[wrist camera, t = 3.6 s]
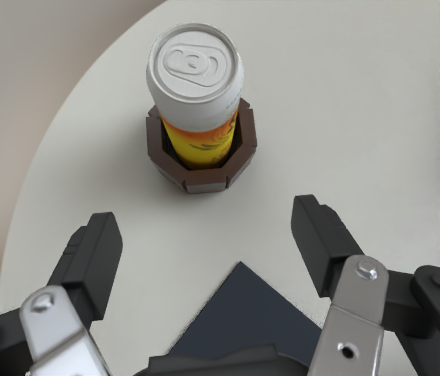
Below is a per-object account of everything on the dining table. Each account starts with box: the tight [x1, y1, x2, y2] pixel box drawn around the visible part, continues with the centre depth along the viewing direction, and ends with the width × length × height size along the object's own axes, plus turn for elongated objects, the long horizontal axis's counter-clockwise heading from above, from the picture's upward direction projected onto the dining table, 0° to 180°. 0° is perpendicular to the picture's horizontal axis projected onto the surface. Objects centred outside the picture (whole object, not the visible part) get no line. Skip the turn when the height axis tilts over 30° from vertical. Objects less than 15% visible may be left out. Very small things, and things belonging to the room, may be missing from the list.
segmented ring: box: [146, 97, 257, 194], centre depth 29 cm, size 10×10×4 cm
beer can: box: [146, 22, 244, 170], centre depth 23 cm, size 6×6×15 cm
